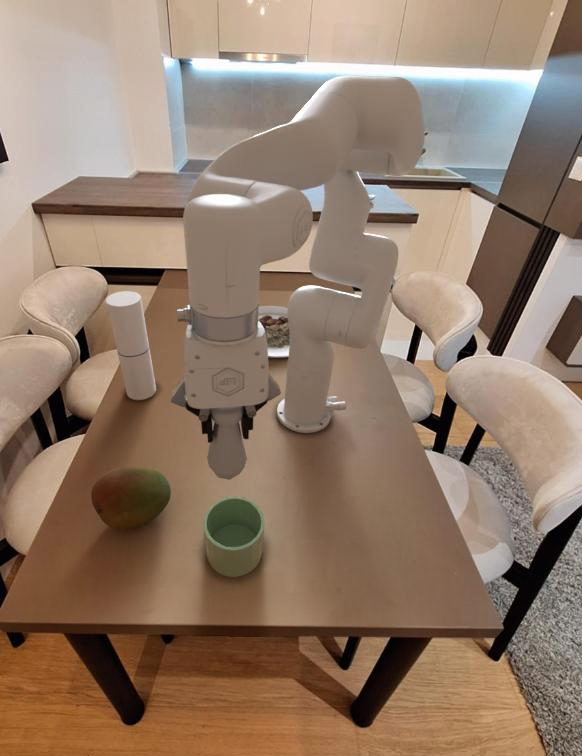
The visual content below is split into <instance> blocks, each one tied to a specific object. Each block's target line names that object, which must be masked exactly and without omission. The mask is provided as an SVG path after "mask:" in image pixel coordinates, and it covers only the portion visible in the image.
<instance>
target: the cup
mask: <svg viewBox="0 0 582 756" xmlns="http://www.w3.org/2000/svg"><path fill="white" fill-rule="evenodd" d="M202 524H203V533H204V534H203V535H204V546H205V554H206V559H207V561H208V563H209V565H210V566H211V568H212V569H213V570H214V571H215V572H217V573H219V574H220V575H222V576H226V577H229V578H230V577H231V578H235V577H242V576H246V575H247V574H249V573H250V572H252V571H253V570H254V569H255V568H256V567H257V566H258V564H259V563H260V561H261V559H262V556H263V547H264V538H265V537H264V536H265V518H264V513H263V512H262V510H261V509H260V507H259V506H258V504H256V503H255V502H254V501H252V500H251V499H249V498H246V497H243V496H242V497H241V496H227V497H224V498H221V499H219V500H216V501H215V502H214V503H213V504H211V505H210V507H209V508H208V509H207V511H206V513H205V515H204V518H203V523H202Z"/></svg>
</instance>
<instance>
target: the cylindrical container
mask: <svg viewBox="0 0 582 756" xmlns="http://www.w3.org/2000/svg"><path fill="white" fill-rule="evenodd" d="M105 303H106V308H107V312H108V316H109V322H110V325H111V330H112V335H113V339H114V343H115V348H116V352H117V353H116V354H117V358H118V361H119V366H120V370H121V374H122V379H123V383H124V388H125V393H126V396H127V397H128V398H129V399H131V400H135V401H142V400H146V399H147V400H148V399H150V398H151V397H153V396H154V395H155V393H156V391H157V386H156V380H155V374H154V373H155V372H154V368H153V362H152V356H151V350H150V344H149V338H148V331H147V325H146V319H145V312H144V307H143V299H142V296H141V294H140V293H138V292H136V291H132V290H131V291H130V290H123V291H117V292H113V293H111V294H110V295H108V296H107V297H106V298H105Z"/></svg>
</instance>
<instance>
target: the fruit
mask: <svg viewBox="0 0 582 756" xmlns="http://www.w3.org/2000/svg"><path fill="white" fill-rule="evenodd" d="M170 485H171V484H170V483H169V481H168V479H167V478H166V476H165V475H164V474H163V473H161V472H159V471H156V470H153V469H149V468H143V467H139V466H122V467H117V468H114V469H111V470H110V471H108V472H106V473H104V474H102V476H100V477H99V478H98V479H97V480H96V481H95V483H94V484H93V486H92V488H91V493H90V497H91V504H92V506H93V509H94V511H95V512H96V514H97V516H98V517H99V518H100V519H101V521H102V522H103V523H104V524H105V525H106V526H107V527H109V528H111V529H114V530H120V531H127V530H132V529H136V528H140V527H143V526H145V525H147V524H149V523H150V522H152V521H153V520H155V519H156V518H157V517H158V516H159V515H160V514H161V513H162V512H163V511H164V510H165V509H166V507H167V506H168V504H169V502H170V499H171V494H172V490H171V486H170Z"/></svg>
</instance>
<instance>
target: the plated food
mask: <svg viewBox="0 0 582 756" xmlns="http://www.w3.org/2000/svg"><path fill="white" fill-rule="evenodd" d="M258 321H259V322H260V323H261V324H262V326H263V328H264V330H265V334H266V340H267V348H268V358H275V359H276V358H288V357H289V344H290V333H289V323H288V307H286V306H279V305H278V306H276V305H261V306H259V310H258Z"/></svg>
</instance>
